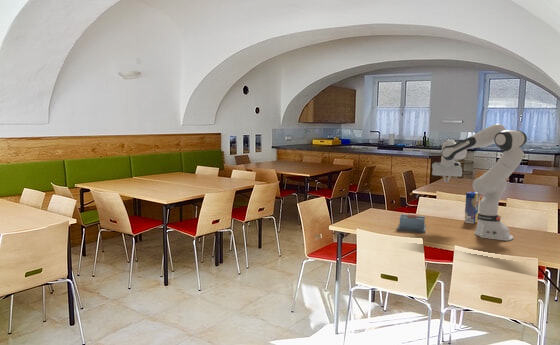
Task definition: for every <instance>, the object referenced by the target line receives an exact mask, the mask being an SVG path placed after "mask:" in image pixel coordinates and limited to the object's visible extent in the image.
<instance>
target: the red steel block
mask: <svg viewBox="0 0 560 345" xmlns="http://www.w3.org/2000/svg"><path fill="white" fill-rule="evenodd" d="M407 215H408V218H417V216H418V213H410V212H409V213H407Z"/></svg>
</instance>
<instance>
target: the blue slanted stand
mask: <svg viewBox="0 0 560 345" xmlns="http://www.w3.org/2000/svg"><path fill="white" fill-rule="evenodd" d="M396 230H397V231H398V232H408V233H417V234H418V233H419V234H426V230H427V224H425V223H424V219H420V218H408V217H401V216H399V224H398V226H397V229H396Z"/></svg>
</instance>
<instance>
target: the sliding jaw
mask: <svg viewBox="0 0 560 345" xmlns="http://www.w3.org/2000/svg"><path fill="white" fill-rule="evenodd" d="M400 217H408V214H400ZM417 218H420V219H424V224H425V222H426V221H425V218H426V217H425V216H424V215H417Z"/></svg>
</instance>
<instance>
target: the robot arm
mask: <svg viewBox="0 0 560 345" xmlns="http://www.w3.org/2000/svg"><path fill="white" fill-rule="evenodd" d="M527 141H528V137H527V134H526V133H525V132H523V131H522V130H518V129H509V130H507V129H506V127H505V126H504V125H503V124H501V123H496V124H492V125H490V126H487V127H485V128H483V129H481V130H480V131H478V132H476V133H475V134H472V135H471V136H469V137H467V138H465V139H463V140H461V141H458V142H456V141H455V140H453V139H452V140H450V139H449V140H444V141H443V143H442V146H441V158H440V159H441V160H440V162H433V163H432V164H431V168H432V172H431V175H432V176H440V177H441V176H442V178H443V181H444V183H449V180H450V179H451V177H463V169H462V166H461V165H462V164H461V162H458V160H464V159H465V158H467V155H468V149H475V148H476V149H477V148H485V147H489V146H491V145H493V144H495V145H496V147H498V148H499V150H500V151H501V152H503V154H502V155H500V157H499V158H498V160H496V163H494V165H492V167H490V169H488V170H487V171H486V172H485V173H483V174H482V175H481V176H479V177H476V178H475V179H474V180H473V182H472V189H473V192H477V193H479V194H482V195H483V197H482V198H481V199H479V200H480V201H479V204H478V218H477V225H476V227H475V228H476V229H475V231H474V235H475V236H478V237H480V238H482V239H491V240H496V241H497V240H498V241H512V240H513V239H514V235H512V234H510V229H509V227H508V226H507V225H506V224H504V222H502V221H501V219H502V216H501V215H498V211H499V204H500V203H499V202H500V199H501V198H502V197H501V196H502V195H503V193H504V191H505V190H506V189H507V188H508V182H507V179H508V178H510V176H511V175H512V174H513V172H514V171H516V169H517V168H518V166H519V165H520V164H521V162H522V161H523V159H524V157H525V154H524V151H523V149H521V147H523V146H524V145H526V143H527ZM456 160H457V161H456ZM446 177H448V178H447V179H446Z"/></svg>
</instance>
